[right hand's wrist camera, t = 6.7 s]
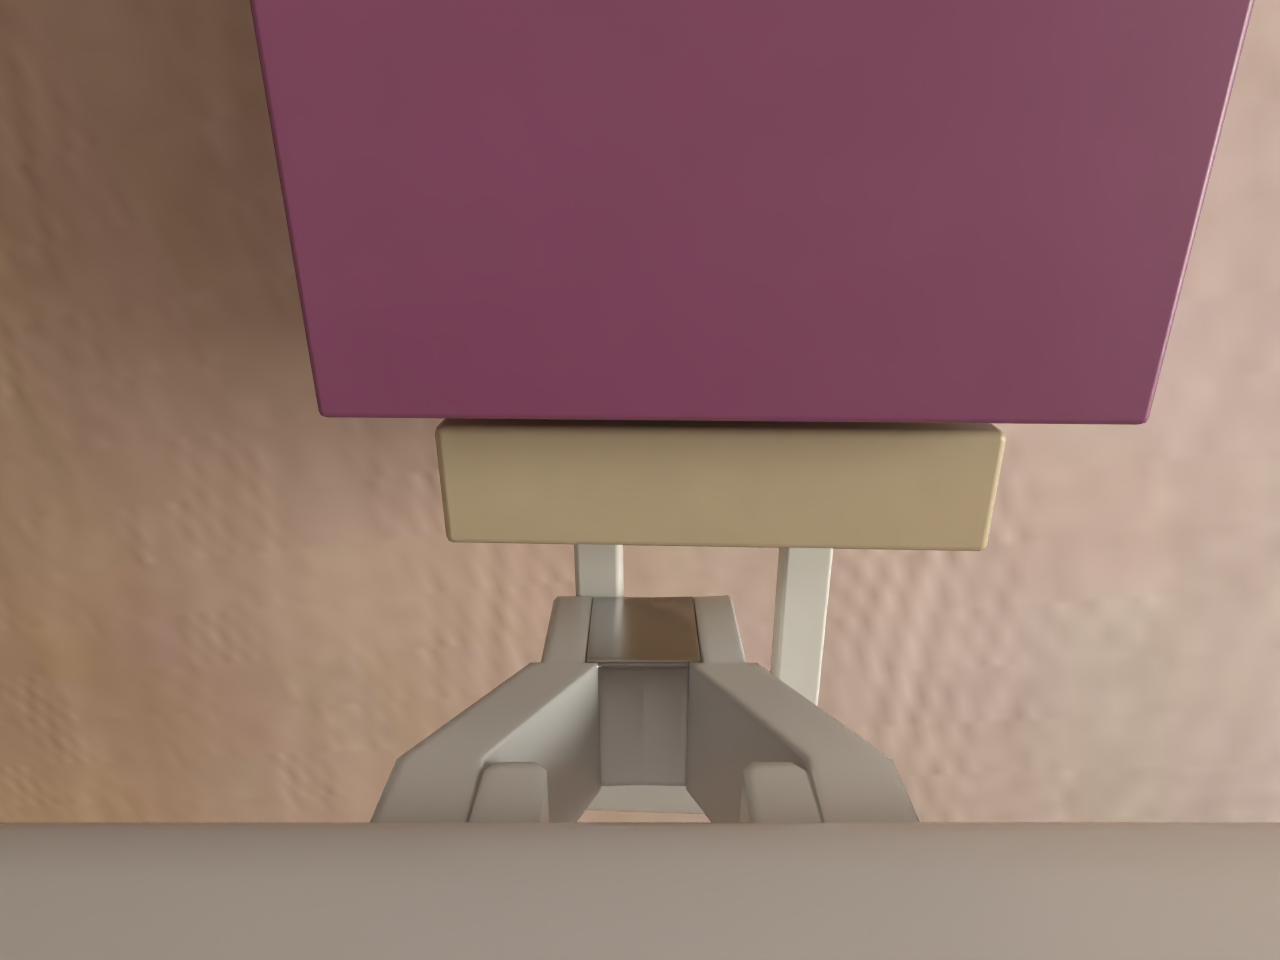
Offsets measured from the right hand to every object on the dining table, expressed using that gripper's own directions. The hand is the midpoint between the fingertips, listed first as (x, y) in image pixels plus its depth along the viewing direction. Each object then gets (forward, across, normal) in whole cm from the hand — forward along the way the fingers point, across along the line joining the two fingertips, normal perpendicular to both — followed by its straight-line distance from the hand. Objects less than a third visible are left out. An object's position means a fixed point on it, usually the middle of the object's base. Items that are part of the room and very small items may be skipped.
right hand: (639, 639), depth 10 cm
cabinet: (+6, -1, -14) cm, 15 cm away
